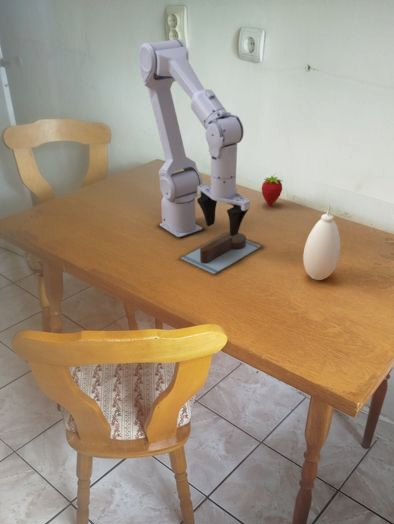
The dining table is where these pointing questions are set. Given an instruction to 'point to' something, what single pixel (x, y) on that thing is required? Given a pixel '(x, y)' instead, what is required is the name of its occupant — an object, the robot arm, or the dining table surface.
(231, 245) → the spoon
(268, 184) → the strawberry
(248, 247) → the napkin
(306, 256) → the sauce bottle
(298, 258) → the dining table surface
